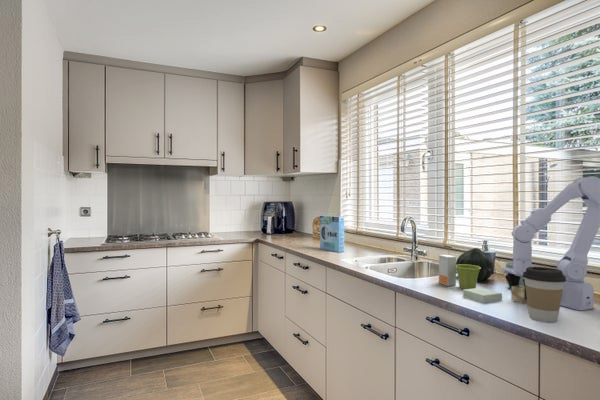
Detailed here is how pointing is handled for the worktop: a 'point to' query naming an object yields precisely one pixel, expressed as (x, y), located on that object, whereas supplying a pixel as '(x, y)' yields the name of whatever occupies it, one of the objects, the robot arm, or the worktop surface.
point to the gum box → (332, 233)
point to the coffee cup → (544, 292)
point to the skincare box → (447, 270)
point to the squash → (477, 262)
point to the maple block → (518, 294)
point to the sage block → (482, 295)
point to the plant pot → (467, 275)
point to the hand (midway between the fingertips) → (521, 297)
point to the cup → (510, 265)
